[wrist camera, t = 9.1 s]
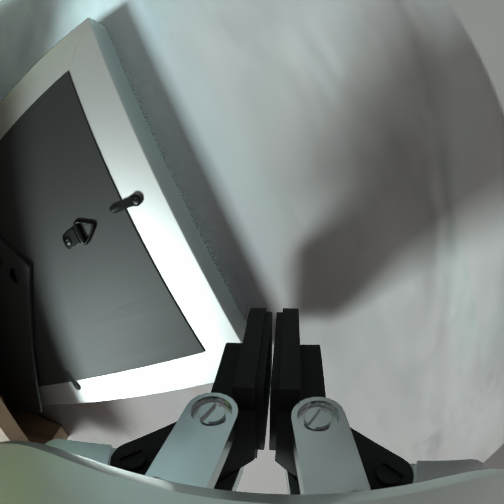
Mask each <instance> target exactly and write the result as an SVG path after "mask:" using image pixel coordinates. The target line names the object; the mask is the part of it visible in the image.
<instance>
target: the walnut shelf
mask: <svg viewBox="0 0 504 504" xmlns="http://www.w3.org/2000/svg"><path fill="white" fill-rule="evenodd" d="M67 438H68V435H67V433H66V432H65V430H64V429H63V427H62V426H61V425H59V424H56V423H54V422H51V421H49V420H46V419H44V418H42V417H40V416H37V415H35V414H33V413H31V412H13V411H12V410H11V408H10V407H9V406H8V404H7V403H6V402H5V401H4V399H3V398H2V396H1V395H0V442H3V441H15V440H16V441H29V442H36V443H40V444H46V443H47V442H48V441H50V440H53V439H66V440H67Z"/></svg>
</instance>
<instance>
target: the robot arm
mask: <svg viewBox="0 0 504 504" xmlns="http://www.w3.org/2000/svg"><path fill="white" fill-rule="evenodd" d="M271 373H272V377H271ZM270 386H271V391H270ZM269 397H270V442H269V450H276V455H275V461H276V462H277V463H279V464H280V465H281V466H282V467H283V468H285V469H286V473H285V474H286V481H287V489H288V495H287V494H261V493H247V492H236V489H237V487H238V484H239V481H240V479H241V476H242V473H243V468H244V466H245V465H246V464H248V463H249V462H251V461H253V460H254V458H257V451H258V449H259V450H264V446H265V436H266V427H267V417H268V407H269ZM0 504H504V469H487V467H486V466H485V465H484V464H483V463H482V462H480V461H478V460H472V459H469V460H450V461H417V462H416V464H409V463H408V462H407V461H405V460H404V459H403V458H401V457H399V456H397V455H396V454H394V453H392V452H390V451H389V450H387V449H385V448H383V447H382V446H380V445H378V444H377V443H375V442H373V441H372V440H370V439H368V438H367V437H365V436H363V435H362V434H360V433H358V432H357V431H355V430H354V429H352V428H350V426H349V423H348V420H347V417H346V415H345V412H344V410H343V408H342V407H341V406H340V405H339V404H338V403H337V402H336V401H334V400H331V399H329V398H326V396H325V386H324V376H323V367H322V358H321V350H320V345H300V336H299V311H298V309H289V308H283V312H277V316H276V329H275V342H274V354H273V365H272V312H266V308H250V312H249V316H248V321H247V325H246V329H245V334H244V338H243V343H229V342H227V343H226V345H225V348H224V351H223V354H222V358H221V361H220V364H219V368H218V371H217V374H216V378H215V381H214V384H213V388H212V391H211V393H204V394H201V395H198V396H196V397H195V398H193V399H192V400H191V401H190V402H189V403H188V404H187V406H186V407H185V409H184V411H183V412H182V414H181V416H180V418H179V419H178V421H177V422H175V423H173V424H171V425H168V426H166V427H164V428H162V429H159V430H157V431H155V432H152V433H150V434H148V435H145V436H143V437H141V438H138V439H136V440H133V441H131V442H128V443H126V444H124V445H122V446H120V447H118V448H113V447H112V446H111V445H107V444H97V443H88V442H80V441H72V440H66V439H53V440H50V441H48V442H47V443H46V444H40V443H36V442H29V441H16V440H15V441H3V442H0Z"/></svg>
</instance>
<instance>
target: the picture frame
mask: <svg viewBox="0 0 504 504" xmlns="http://www.w3.org/2000/svg"><path fill="white" fill-rule="evenodd" d="M246 325H247V323H246V321H245V319H244V317H243V316H242V314H241V312H240V310H239V308H238V306H237V304H236V302H235V300H234V298H233V297H232V295H231V293H230V291H229V289H228V287H227V285H226V283H225V281H224V279H223V277H222V275H221V273H220V272H219V270H218V268H217V266H216V264H215V262H214V260H213V258H212V256H211V254H210V252H209V250H208V248H207V246H206V244H205V242H204V240H203V238H202V236H201V234H200V232H199V230H198V228H197V226H196V224H195V222H194V220H193V218H192V216H191V214H190V212H189V210H188V208H187V206H186V204H185V201H184V199H183V197H182V195H181V193H180V191H179V189H178V187H177V185H176V183H175V181H174V179H173V176H172V174H171V172H170V170H169V168H168V166H167V164H166V162H165V159H164V157H163V155H162V153H161V151H160V149H159V147H158V144H157V142H156V140H155V138H154V136H153V134H152V131H151V129H150V127H149V125H148V123H147V120H146V118H145V116H144V114H143V111H142V109H141V107H140V105H139V102H138V100H137V98H136V96H135V93H134V91H133V89H132V86H131V84H130V82H129V80H128V77H127V75H126V73H125V70H124V68H123V66H122V63H121V61H120V58H119V56H118V54H117V51H116V49H115V46H114V44H113V42H112V39H111V37H110V34H109V32H108V29H107V27H106V26H105V25H103V24H101V23H99V22H97V21H95V20H93V19H91V18H87V19H86V20H85V21H83V22H82V23H81V24H80V25H78V26H77V27H76V28H75V29H74V30H72V31H71V32H70V33H69V34H68V35H66V36H65V37H64V38H63V39H62V40H61V41H59V42H58V43H57V44H56V45H55V46H54V47H53V48H52V49H51V50H50V51H49V52H47V53H46V54H45V55H44V56H43V57H42V58H41V59H40V60H39V61H38V62H37V63H36V64H35V65H34V66H33V67H32V68H31V69H30V70H29V71H28V72H27V73H26V74H25V75H24V77H23V78H22V79H21V80H20V81H19V82H18V83H17V84H16V85H15V86H14V88H13V89H12V90H11V91H10V92H9V93H8V94H7V96H6V97H5V98H4V99H3V100H2V102H1V103H0V395H1V396H2V398H3V399H4V401H5V402H6V403H7V404H8V406H9V407H10V408H11V410H12V411H13V412H42V411H43V409H42V406H48V405H64V404H77V403H88V402H98V401H107V400H115V399H123V398H130V397H137V396H144V395H150V394H156V393H162V392H168V391H173V390H178V389H184V388H189V387H194V386H199V385H203V384H208V383H213V382H214V381H215V378H216V374H217V371H218V368H219V364H220V361H221V358H222V354H223V351H224V348H225V345H226V343H227V342H229V343H243V338H244V334H245V329H246Z"/></svg>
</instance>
